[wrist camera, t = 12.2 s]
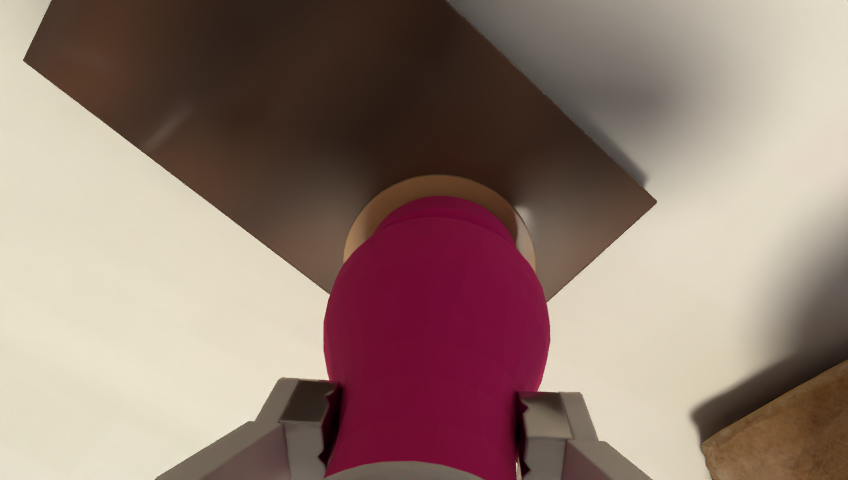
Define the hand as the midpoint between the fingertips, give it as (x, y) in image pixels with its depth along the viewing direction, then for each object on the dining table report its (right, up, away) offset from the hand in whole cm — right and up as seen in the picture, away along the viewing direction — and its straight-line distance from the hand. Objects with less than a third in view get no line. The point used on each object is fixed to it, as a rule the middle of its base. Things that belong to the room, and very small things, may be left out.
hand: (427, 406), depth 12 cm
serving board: (-3, +9, +8) cm, 12 cm away
